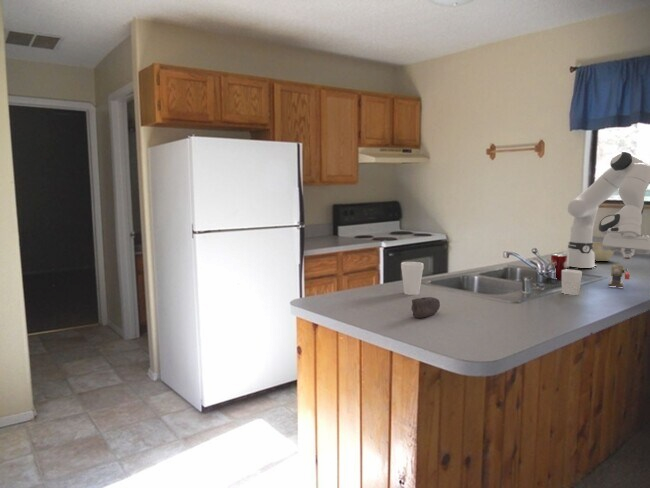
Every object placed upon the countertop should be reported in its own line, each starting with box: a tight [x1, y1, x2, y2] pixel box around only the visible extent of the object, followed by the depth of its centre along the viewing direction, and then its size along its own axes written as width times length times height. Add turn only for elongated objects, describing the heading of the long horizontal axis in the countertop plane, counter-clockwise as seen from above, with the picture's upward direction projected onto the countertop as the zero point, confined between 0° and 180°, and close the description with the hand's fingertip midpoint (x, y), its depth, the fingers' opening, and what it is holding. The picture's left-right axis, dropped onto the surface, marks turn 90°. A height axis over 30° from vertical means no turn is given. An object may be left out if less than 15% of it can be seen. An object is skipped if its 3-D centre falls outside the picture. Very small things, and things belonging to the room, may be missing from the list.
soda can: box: [550, 253, 568, 281], centre depth 246 cm, size 7×7×12 cm
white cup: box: [561, 268, 583, 295], centre depth 212 cm, size 8×8×10 cm
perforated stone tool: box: [410, 296, 441, 319], centre depth 178 cm, size 15×5×7 cm, turn 129°
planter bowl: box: [592, 241, 615, 262], centre depth 301 cm, size 16×16×11 cm
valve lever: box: [624, 268, 630, 280], centre depth 221 cm, size 2×2×16 cm
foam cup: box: [400, 261, 425, 296], centre depth 213 cm, size 10×9×13 cm
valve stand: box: [608, 264, 625, 288], centre depth 229 cm, size 10×6×9 cm, turn 150°
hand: (627, 258), depth 217 cm, fingers closed
